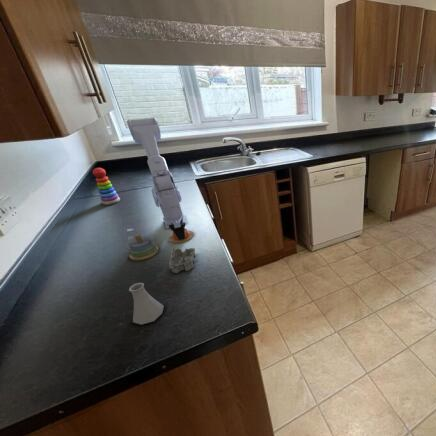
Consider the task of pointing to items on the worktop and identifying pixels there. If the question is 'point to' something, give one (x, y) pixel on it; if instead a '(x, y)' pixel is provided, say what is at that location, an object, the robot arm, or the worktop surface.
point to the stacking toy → (105, 187)
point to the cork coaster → (181, 239)
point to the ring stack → (142, 248)
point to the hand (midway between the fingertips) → (181, 235)
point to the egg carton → (182, 259)
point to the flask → (144, 305)
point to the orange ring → (185, 234)
